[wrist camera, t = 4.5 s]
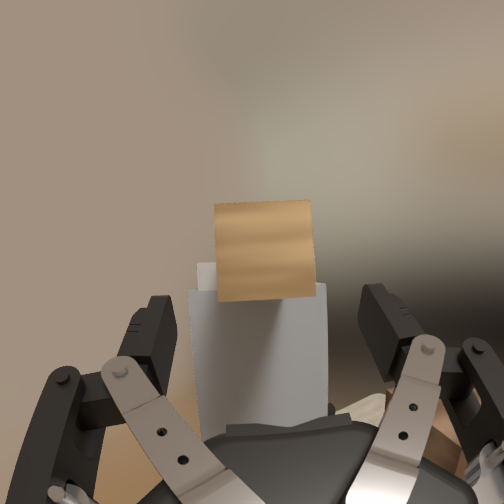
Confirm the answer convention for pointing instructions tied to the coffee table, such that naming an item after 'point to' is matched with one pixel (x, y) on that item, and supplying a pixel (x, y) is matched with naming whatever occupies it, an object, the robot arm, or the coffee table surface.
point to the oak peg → (264, 250)
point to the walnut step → (443, 441)
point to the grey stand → (257, 357)
